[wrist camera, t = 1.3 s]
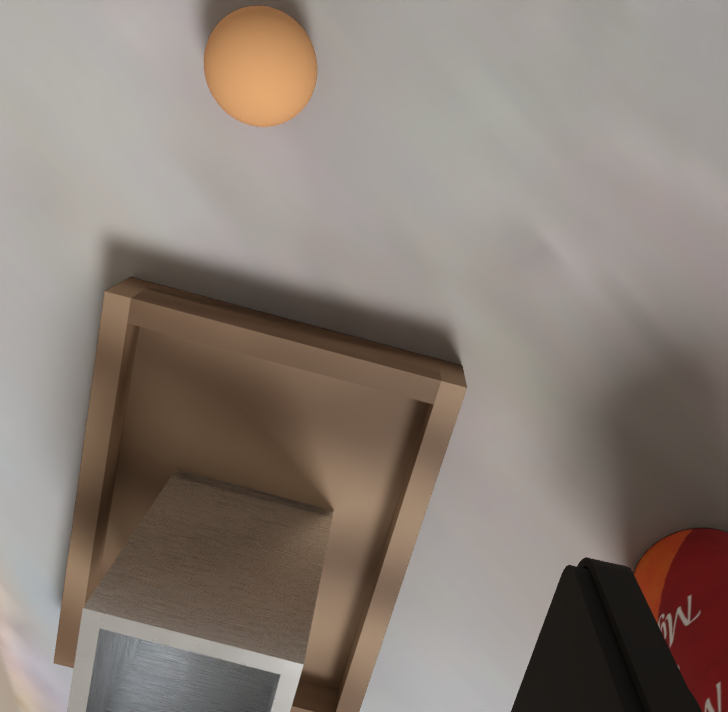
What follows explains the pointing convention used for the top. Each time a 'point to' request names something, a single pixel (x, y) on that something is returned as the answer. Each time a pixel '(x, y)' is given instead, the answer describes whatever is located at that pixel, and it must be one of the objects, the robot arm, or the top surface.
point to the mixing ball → (260, 66)
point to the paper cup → (692, 607)
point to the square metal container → (204, 604)
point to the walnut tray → (264, 453)
